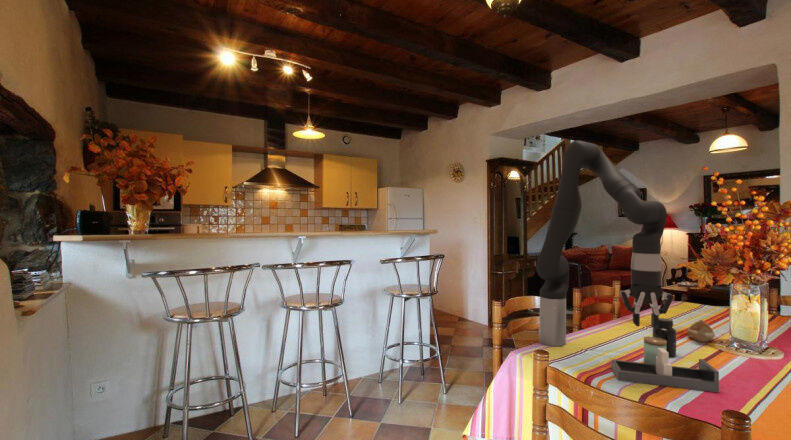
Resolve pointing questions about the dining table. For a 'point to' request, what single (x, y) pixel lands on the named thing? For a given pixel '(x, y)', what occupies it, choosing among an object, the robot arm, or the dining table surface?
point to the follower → (663, 363)
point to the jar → (652, 348)
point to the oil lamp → (701, 331)
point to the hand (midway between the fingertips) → (645, 326)
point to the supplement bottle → (666, 335)
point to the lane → (681, 376)
